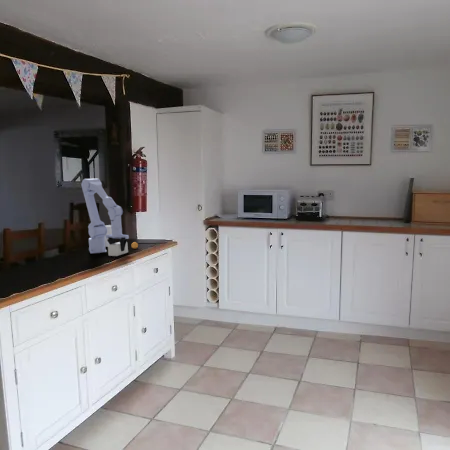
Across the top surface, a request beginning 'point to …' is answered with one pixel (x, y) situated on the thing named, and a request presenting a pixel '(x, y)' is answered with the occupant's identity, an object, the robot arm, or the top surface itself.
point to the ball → (134, 245)
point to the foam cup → (109, 232)
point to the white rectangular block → (116, 249)
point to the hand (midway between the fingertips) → (118, 250)
